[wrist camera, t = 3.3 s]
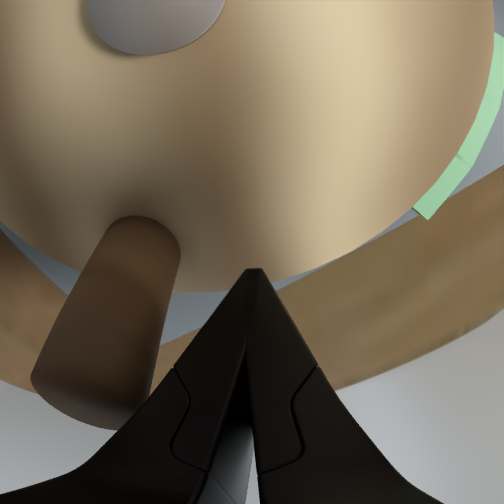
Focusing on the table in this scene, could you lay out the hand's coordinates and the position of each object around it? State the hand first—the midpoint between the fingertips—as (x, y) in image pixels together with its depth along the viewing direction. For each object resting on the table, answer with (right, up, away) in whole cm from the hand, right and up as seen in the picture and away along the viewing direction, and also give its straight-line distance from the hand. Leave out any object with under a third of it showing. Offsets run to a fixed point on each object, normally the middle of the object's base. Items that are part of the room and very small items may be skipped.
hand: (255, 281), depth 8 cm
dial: (-1, +7, -2) cm, 8 cm away
